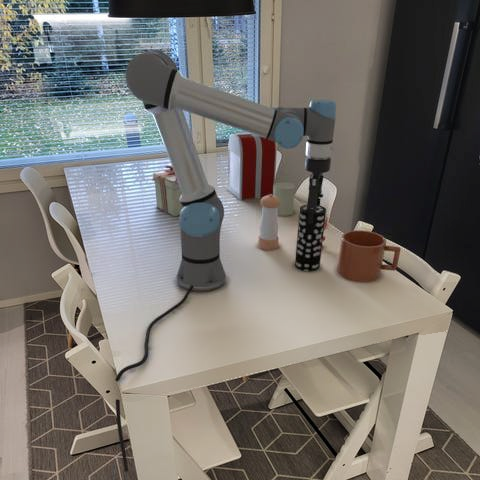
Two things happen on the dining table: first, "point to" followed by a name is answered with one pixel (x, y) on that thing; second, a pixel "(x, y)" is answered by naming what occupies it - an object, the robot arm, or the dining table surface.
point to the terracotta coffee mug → (364, 256)
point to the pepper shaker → (269, 223)
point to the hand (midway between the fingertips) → (312, 224)
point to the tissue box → (251, 165)
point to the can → (284, 197)
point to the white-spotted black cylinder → (310, 240)
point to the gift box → (168, 191)
